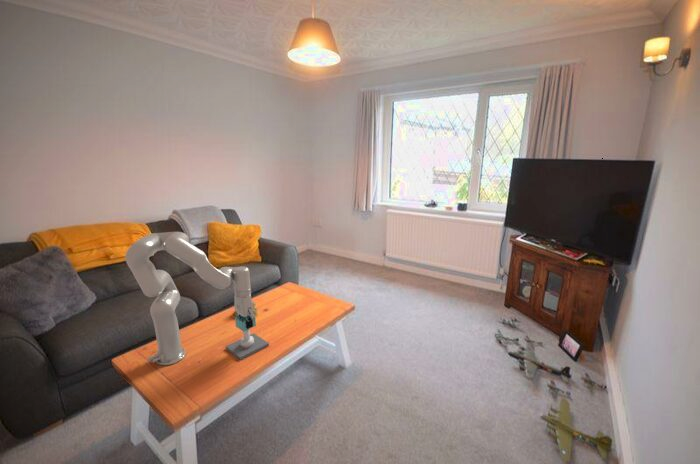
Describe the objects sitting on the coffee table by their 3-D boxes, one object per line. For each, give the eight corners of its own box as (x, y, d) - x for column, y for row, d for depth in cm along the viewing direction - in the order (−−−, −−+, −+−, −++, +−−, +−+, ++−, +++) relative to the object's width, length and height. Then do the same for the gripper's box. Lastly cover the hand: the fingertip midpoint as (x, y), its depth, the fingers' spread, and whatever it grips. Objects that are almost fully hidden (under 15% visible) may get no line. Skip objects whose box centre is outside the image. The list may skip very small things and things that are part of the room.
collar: (243, 331, 153) (242, 322, 152) (235, 326, 157) (234, 317, 156) (255, 325, 158) (255, 316, 157) (248, 321, 162) (247, 312, 161)
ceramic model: (259, 309, 201) (258, 294, 198) (256, 317, 190) (255, 302, 187) (236, 310, 199) (235, 295, 197) (232, 318, 188) (230, 303, 186)
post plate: (240, 360, 150) (238, 340, 147) (225, 348, 159) (224, 330, 156) (268, 345, 162) (267, 327, 159) (254, 335, 171) (252, 318, 168)
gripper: (226, 289, 156) (230, 322, 160) (245, 299, 145) (248, 334, 149) (240, 285, 161) (243, 316, 166) (259, 294, 150) (262, 328, 154)
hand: (245, 324), depth 157 cm, fingers closed on collar, 7 cm apart
